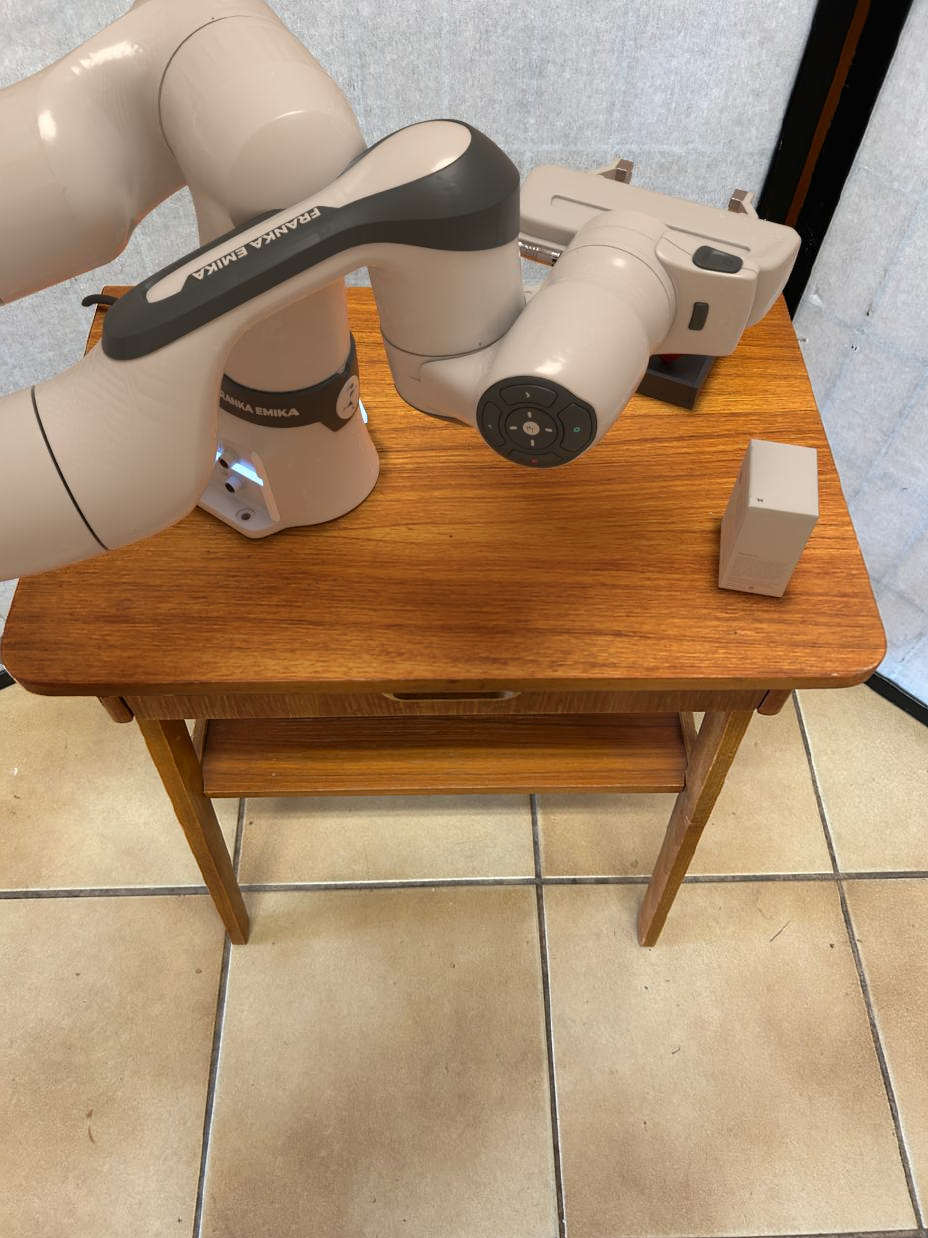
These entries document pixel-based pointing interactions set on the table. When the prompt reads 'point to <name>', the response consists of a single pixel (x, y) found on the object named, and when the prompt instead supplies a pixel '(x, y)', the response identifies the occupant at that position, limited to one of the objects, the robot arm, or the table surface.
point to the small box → (768, 517)
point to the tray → (677, 378)
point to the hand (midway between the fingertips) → (682, 183)
